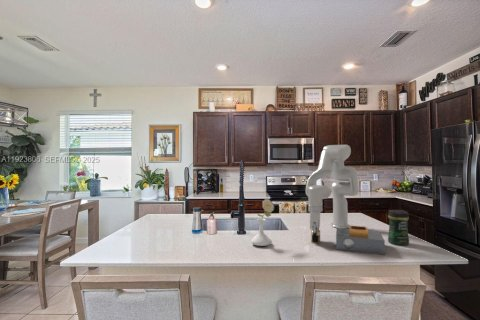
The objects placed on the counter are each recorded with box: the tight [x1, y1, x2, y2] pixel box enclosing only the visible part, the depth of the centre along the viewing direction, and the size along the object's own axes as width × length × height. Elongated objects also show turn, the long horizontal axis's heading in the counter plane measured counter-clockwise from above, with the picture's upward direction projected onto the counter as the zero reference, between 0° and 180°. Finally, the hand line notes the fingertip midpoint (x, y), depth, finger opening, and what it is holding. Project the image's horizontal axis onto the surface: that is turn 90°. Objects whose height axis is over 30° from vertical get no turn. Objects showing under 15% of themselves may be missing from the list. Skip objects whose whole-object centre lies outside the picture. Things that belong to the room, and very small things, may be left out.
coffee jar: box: [387, 209, 410, 246], centre depth 141 cm, size 10×8×19 cm
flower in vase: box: [250, 198, 275, 247], centre depth 141 cm, size 13×11×25 cm
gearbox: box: [335, 224, 386, 256], centre depth 136 cm, size 19×22×10 cm
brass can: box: [310, 228, 321, 245], centre depth 144 cm, size 5×5×8 cm
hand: (315, 239), depth 144 cm, fingers open, 6 cm apart
